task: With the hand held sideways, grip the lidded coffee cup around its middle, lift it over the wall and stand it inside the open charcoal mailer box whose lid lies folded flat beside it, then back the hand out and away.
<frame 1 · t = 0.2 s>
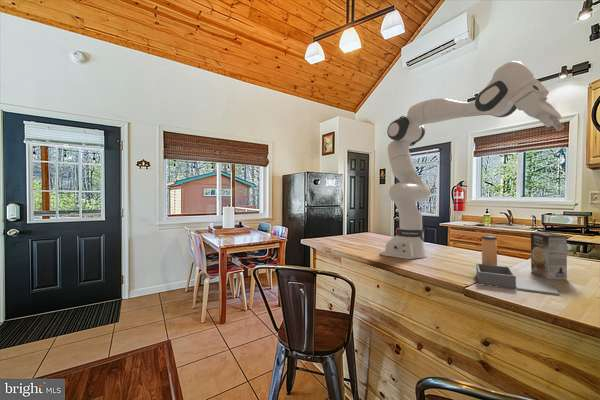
hand: (555, 127, 82), 53 cm above the table, tool tilted 25°, fingers open, 8 cm apart
mailer box: (494, 281, 90), on the table
coffee box: (548, 276, 94), on the table
lidded coffee cup: (489, 269, 103), on the table
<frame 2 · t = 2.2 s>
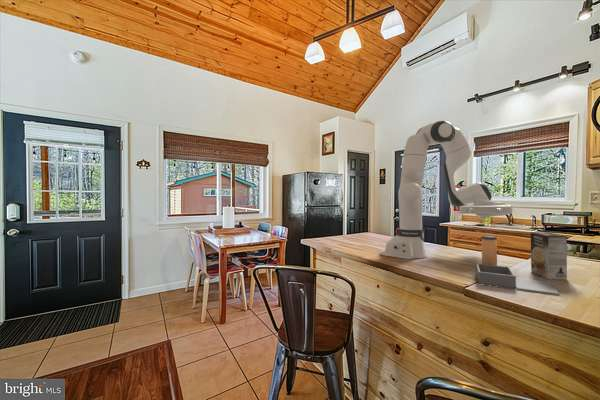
hand: (485, 210, 113), 24 cm above the table, tool horizontal, fingers open, 8 cm apart
nothing on the table moved.
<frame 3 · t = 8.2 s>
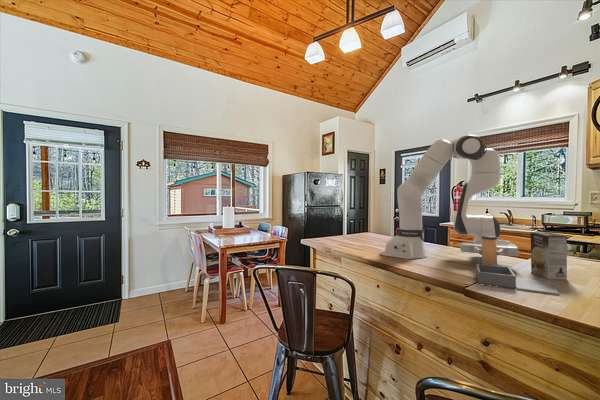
hand: (489, 252, 102), 8 cm above the table, tool horizontal, fingers closed on lidded coffee cup, 5 cm apart
lidded coffee cup: (489, 269, 103), on the table, touching gripper
everything else where it was.
when the fingers open (9 cm above the table, at t = 13.8 s): lidded coffee cup drops 1 cm, resting on mailer box.
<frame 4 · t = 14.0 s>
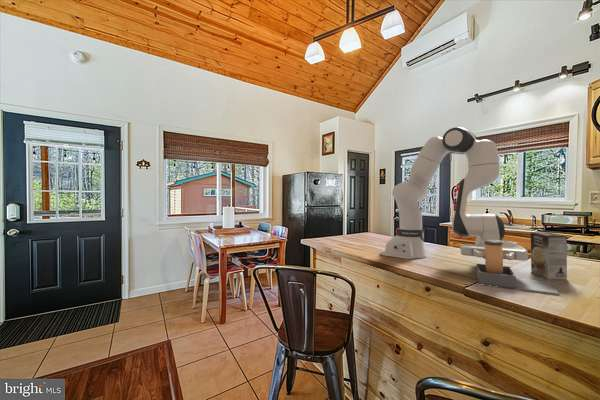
hand: (494, 256, 89), 9 cm above the table, tool horizontal, fingers open, 7 cm apart
lidded coffee cup: (494, 279, 90), point 1 cm above the table, touching mailer box
everything else where it was.
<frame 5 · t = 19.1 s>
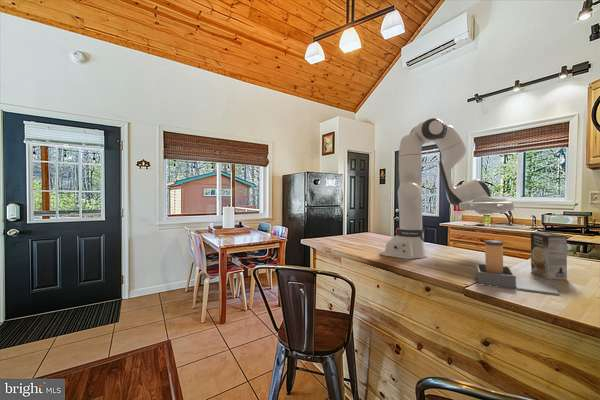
hand: (486, 206, 110), 26 cm above the table, tool horizontal, fingers open, 8 cm apart
nothing on the table moved.
at the end: lidded coffee cup 0.0 cm off-centre on the mailer box, point 0.7 cm above the mailer box's base; lidded coffee cup tilted 2°; the gripper is holding nothing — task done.
